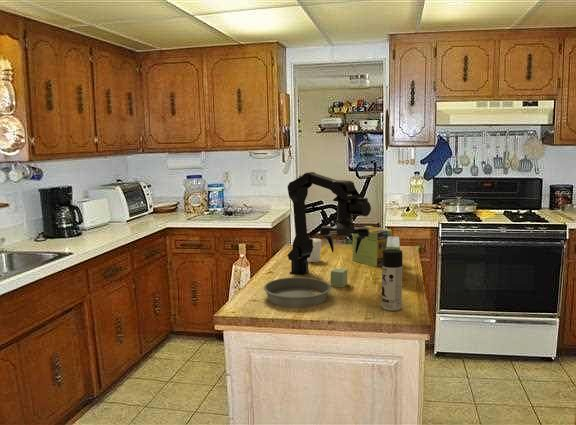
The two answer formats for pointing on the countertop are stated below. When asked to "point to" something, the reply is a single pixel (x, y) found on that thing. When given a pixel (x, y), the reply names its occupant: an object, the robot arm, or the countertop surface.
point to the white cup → (315, 251)
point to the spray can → (392, 279)
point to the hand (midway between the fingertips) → (344, 252)
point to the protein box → (371, 246)
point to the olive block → (339, 277)
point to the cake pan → (297, 291)
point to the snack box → (393, 243)
